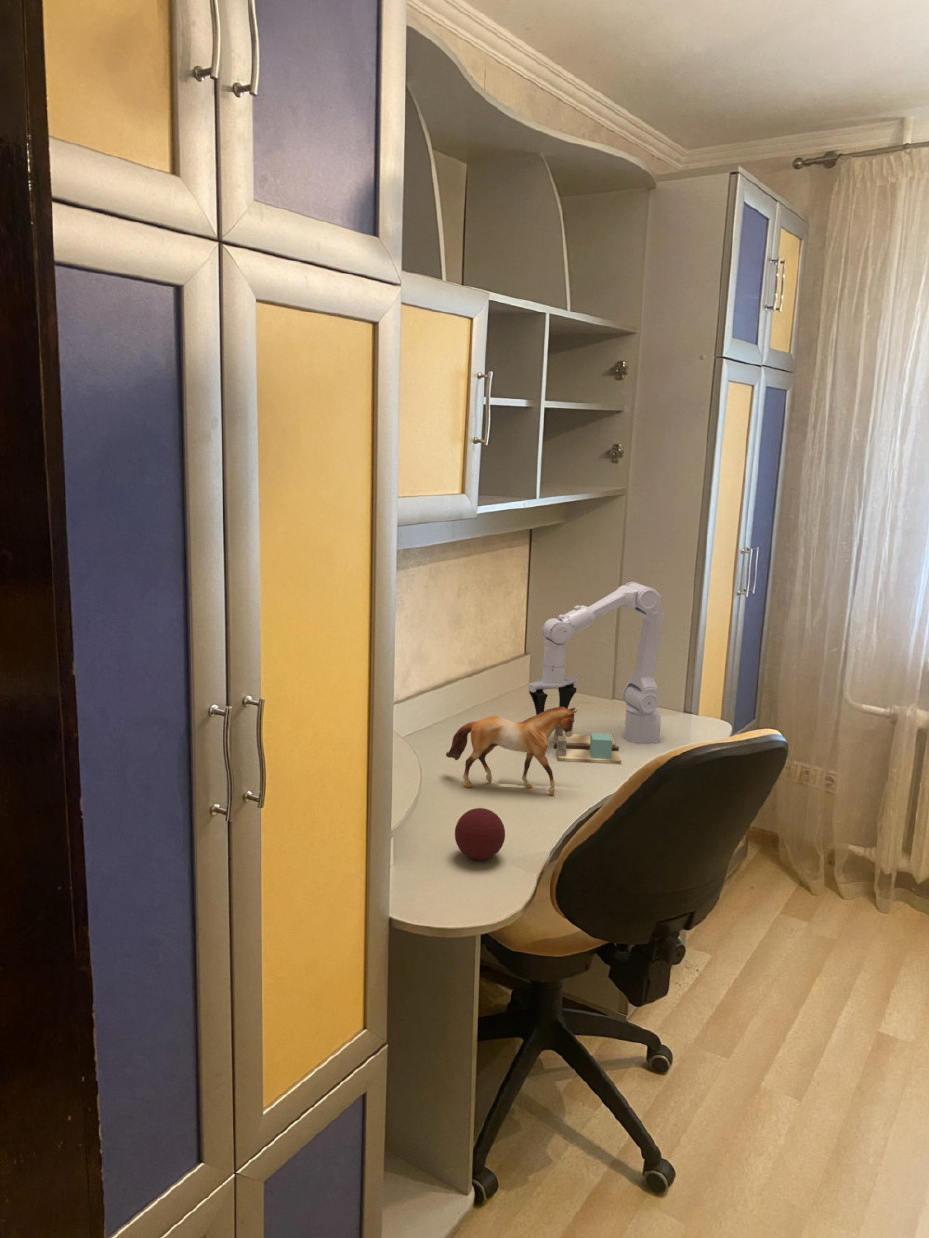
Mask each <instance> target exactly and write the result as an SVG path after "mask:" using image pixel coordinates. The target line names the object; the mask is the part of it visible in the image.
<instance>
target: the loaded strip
mask: <svg viewBox="0 0 929 1238" xmlns="http://www.w3.org/2000/svg"><path fill="white" fill-rule="evenodd" d="M566 744H567V741H566V736H558V742H557V749H555V751H556V756H557V761H558V762H573V763H594V764H595V763H597V764H614V765H615V764H616V765H618V764H619V765H622V759H621V756H620V753H619V752H618V751H612V753H611V759H599V758H591V755H590V750H581V749H566Z"/></svg>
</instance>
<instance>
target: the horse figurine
mask: <svg viewBox="0 0 929 1238" xmlns="http://www.w3.org/2000/svg"><path fill="white" fill-rule="evenodd" d="M577 712H578V709H576V707H571V708H568V709H567V708H565V707H559V706H557V707H553V708H548V709H546V710H544V711H543V712H541V713H540V714H538V715H536V714H535V715H533V716H532V717H531V716H530V717H528V718H526V719H525V720H523V721H511V720H508V719H506V718H503V717H501V716H498V715H491V716H488V717H484V718H481V719H479V720H476V721H471V722H468V723H466V724H464V725H462V726H460V728H459V729H458V730H457V731H456V733H455V734H454V735H453V737H452V740H451V741H452V743H451V747H450V749H449V750H448V751H446V752H445V756H446V757H447V758H449V759H451V758H452V759H454V760H455V761H458V760H460V758H461V756H462V754H463V753H464V751H465V750H466V747H467V744H468V738H469V737H468V736H469V734H470V742H471V746H472V747H471V748H472V749H473V750H472V753H471V754H470V755H469V756H468V758H466V760H465V766H464V767H465V768H464V772H463V775H462V779H463V780H464V783H463V784H464V786H465V787H467V788H472V787H473V784H472V781H471V780H470V778H469V774H470V773H469V772H470V769H471V767H472V766H473V764H474V763H475V761H477V760H479V762H480V763H481V765H482V767H483V768H484V772H485V773H486V775H485V779H486V781H487V782H488V783H490V784H491V783H492V780H493V779H492V778H493V777H492V775H493V774H492V773H491V772H492V771H491V769H490V767H489V765H488V763H487V761H486V756H487V755H488V754H490V752H492V751H493V750H494V749H495V748H496V747H498V746H499V747H501V748H503V749H505V750H510V751H515V752H523V753H526V756H525V759H524V760H525V761H524V764H523V765H524V766H523V768H524V769H523V773H522V777H521V780H522V782H524V787H525V789H529V790H532V789H533V786H532V783H531V782H530V781H529V780H528V778H527V776H528V772H529V769H530V766H531V762H532V760H533V758H535V759H536V760H537V761H538V763H539V764H540V765H541V766H542V768H543V769H544V770H545V771H546V773H547V776H548V778H549V785H550V787H549V788H548V793H549V794H550V795H551V796H555V787H556V783H555V778H554V774H553V769H552V768H551V766H550V764H549V761H548V757H547V756H546V752H547V750H548V747H549V741H548V740H549V738H550V737H551V735H552V734H553V732H554V731H555V728H556V726H557V725H560V726H561V727H562V728H563V732H564V734H565V735H566V736H567V737H571V736H572V735H573V734H574V722H575V713H577Z"/></svg>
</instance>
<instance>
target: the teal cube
mask: <svg viewBox="0 0 929 1238" xmlns="http://www.w3.org/2000/svg"><path fill="white" fill-rule="evenodd" d="M590 735H591V737H590V755H591V758H599V759H611V753H612V738H611V736H612V735H611V734H610V733H600V732H599V733H597V732H591V733H590Z"/></svg>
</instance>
